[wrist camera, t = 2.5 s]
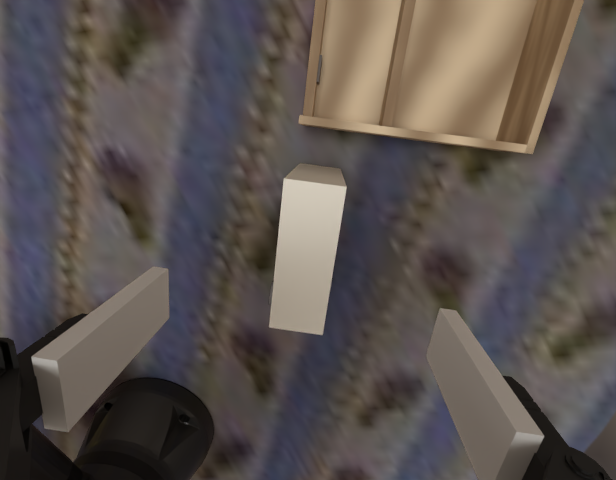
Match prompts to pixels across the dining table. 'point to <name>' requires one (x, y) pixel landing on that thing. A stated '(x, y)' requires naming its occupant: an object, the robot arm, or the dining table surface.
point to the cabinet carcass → (438, 69)
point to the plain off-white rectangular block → (306, 247)
